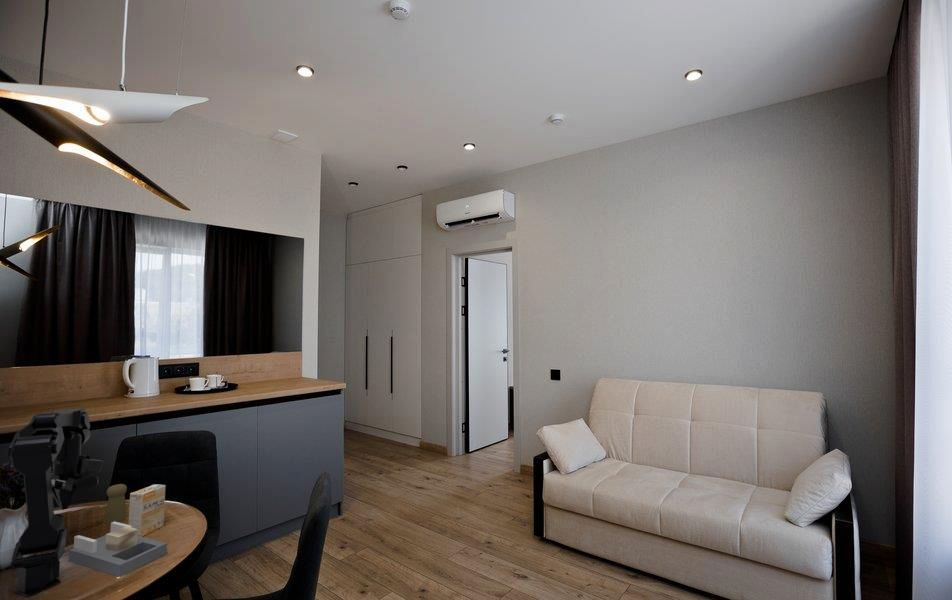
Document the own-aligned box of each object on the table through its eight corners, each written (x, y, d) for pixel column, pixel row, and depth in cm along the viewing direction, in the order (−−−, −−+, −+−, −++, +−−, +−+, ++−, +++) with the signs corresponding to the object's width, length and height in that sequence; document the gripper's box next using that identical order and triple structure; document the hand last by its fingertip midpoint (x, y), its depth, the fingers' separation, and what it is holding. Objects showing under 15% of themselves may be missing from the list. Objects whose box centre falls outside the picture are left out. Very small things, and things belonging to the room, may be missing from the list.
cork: (116, 523, 143) (118, 488, 143) (98, 523, 143) (100, 488, 143) (131, 515, 149) (133, 482, 149) (113, 515, 149) (115, 481, 149)
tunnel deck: (119, 577, 113) (120, 553, 114) (68, 560, 121) (70, 538, 121) (166, 554, 125) (167, 532, 125) (117, 540, 132) (118, 520, 132)
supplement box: (140, 538, 133) (142, 494, 134) (127, 536, 134) (129, 493, 135) (164, 526, 141) (166, 484, 142) (152, 524, 142) (153, 483, 143)
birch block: (117, 552, 120) (118, 537, 120) (105, 549, 121) (106, 534, 121) (137, 543, 124) (137, 529, 124) (125, 540, 126) (125, 526, 126)
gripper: (120, 449, 130) (117, 503, 130) (80, 442, 137) (77, 494, 136) (75, 460, 120) (71, 519, 119) (34, 452, 126) (30, 508, 126)
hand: (64, 509), depth 125 cm, fingers closed
